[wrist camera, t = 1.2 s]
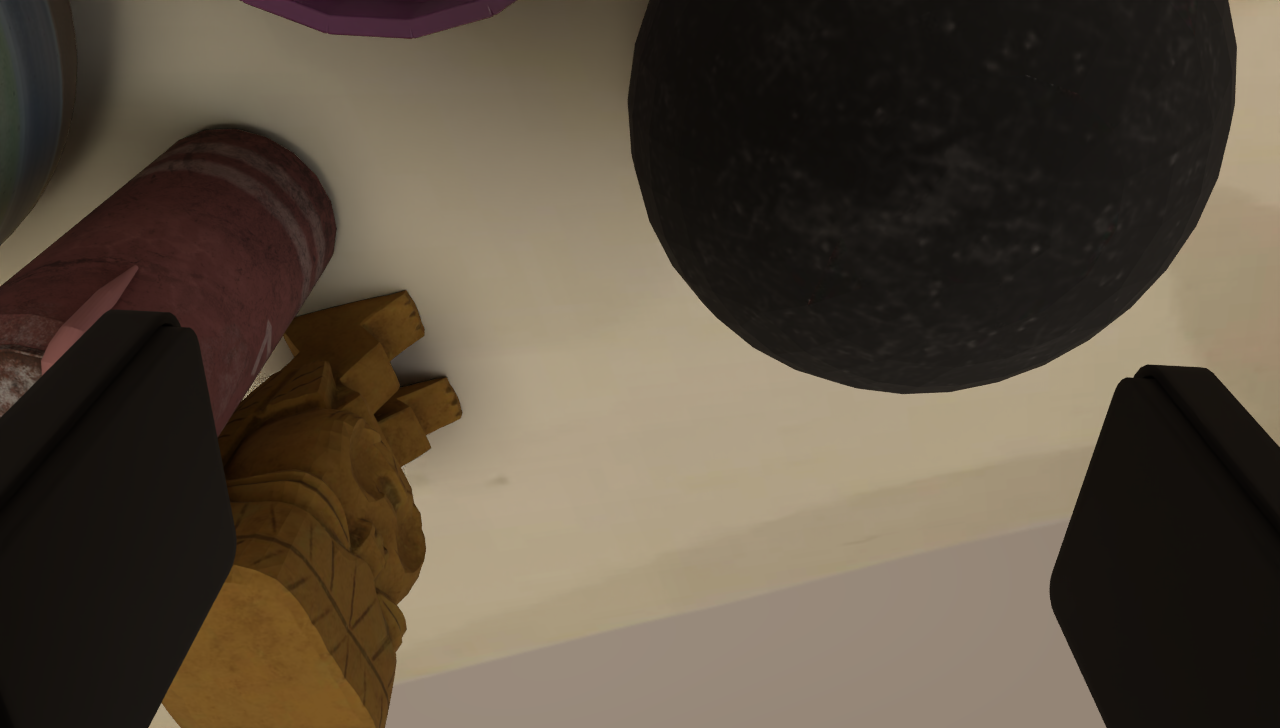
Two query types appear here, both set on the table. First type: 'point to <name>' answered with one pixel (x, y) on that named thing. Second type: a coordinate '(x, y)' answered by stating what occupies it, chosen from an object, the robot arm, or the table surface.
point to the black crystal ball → (927, 171)
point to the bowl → (383, 15)
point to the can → (181, 262)
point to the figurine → (318, 530)
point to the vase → (33, 100)
